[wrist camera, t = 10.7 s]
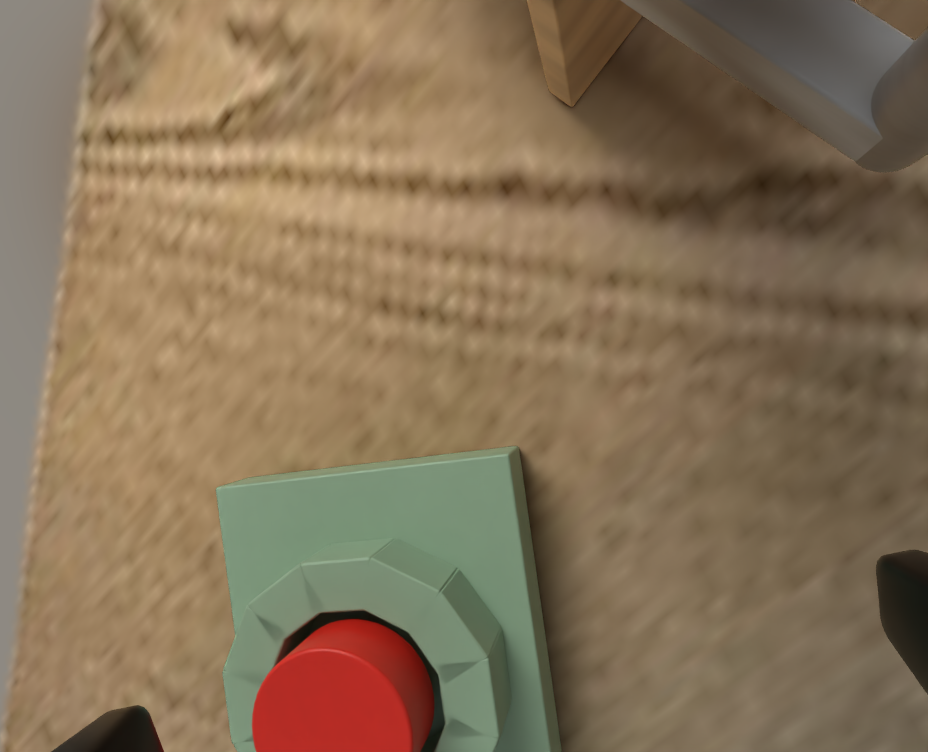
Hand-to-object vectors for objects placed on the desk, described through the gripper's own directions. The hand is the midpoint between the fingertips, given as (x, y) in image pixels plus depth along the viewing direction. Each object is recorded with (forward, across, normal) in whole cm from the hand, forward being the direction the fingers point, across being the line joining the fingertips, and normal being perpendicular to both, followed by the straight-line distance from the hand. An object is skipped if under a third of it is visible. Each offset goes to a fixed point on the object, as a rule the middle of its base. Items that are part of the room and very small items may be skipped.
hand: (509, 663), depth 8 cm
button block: (+9, +4, +6) cm, 11 cm away
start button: (+6, +4, +5) cm, 9 cm away
